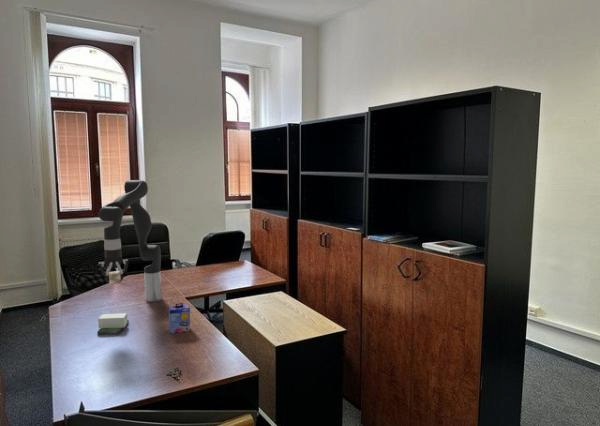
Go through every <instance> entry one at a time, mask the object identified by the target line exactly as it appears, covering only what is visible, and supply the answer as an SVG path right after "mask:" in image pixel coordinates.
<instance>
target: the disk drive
mask: <svg viewBox="0 0 600 426" xmlns="http://www.w3.org/2000/svg"><path fill="white" fill-rule="evenodd" d="M127 320H128V323H127V324H126V326H125V327H122V328H98V330H97V332H96V333H97V336H120V334H121V333H122V332H123V330H124V329H126V327H127V326H128V325H129V323H130V322H129V319H127Z"/></svg>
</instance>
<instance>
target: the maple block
mask: <svg viewBox="0 0 600 426" xmlns="http://www.w3.org/2000/svg"><path fill="white" fill-rule="evenodd" d="M108 284H109V285H117V284H122V281H121V277H120V271H119V270H115V271H110V272H109V283H108Z"/></svg>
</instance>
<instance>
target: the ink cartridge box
mask: <svg viewBox="0 0 600 426" xmlns="http://www.w3.org/2000/svg"><path fill="white" fill-rule="evenodd" d="M190 314H191V308H190V306H189V304H184V303H183V302H180V303H175V305H172V306H168V324H169V325H168V328H169V333H171V334H176V333H175V332H178V333H184V332H183V331H185V332H190V331H191V318H190V317H191V316H190ZM189 330H190V331H189Z"/></svg>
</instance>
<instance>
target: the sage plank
mask: <svg viewBox="0 0 600 426" xmlns="http://www.w3.org/2000/svg"><path fill="white" fill-rule="evenodd" d="M97 320H98V323H97V324H98V329H101V328H122V327H125V326H126V324H127V323H128V320H129V319H128V313H127V312H126V313H125V312H122V313H121V312H120V313H104V314H103V313H102V314H101V315H100V316H99V317H98V319H97ZM128 324H129V323H128ZM126 327H127V326H126ZM126 327H125V328H126Z"/></svg>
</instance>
